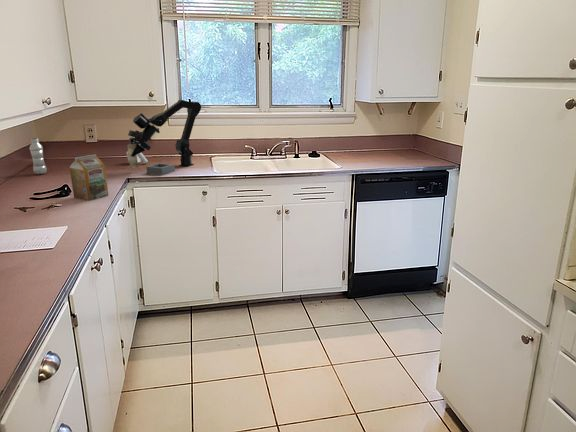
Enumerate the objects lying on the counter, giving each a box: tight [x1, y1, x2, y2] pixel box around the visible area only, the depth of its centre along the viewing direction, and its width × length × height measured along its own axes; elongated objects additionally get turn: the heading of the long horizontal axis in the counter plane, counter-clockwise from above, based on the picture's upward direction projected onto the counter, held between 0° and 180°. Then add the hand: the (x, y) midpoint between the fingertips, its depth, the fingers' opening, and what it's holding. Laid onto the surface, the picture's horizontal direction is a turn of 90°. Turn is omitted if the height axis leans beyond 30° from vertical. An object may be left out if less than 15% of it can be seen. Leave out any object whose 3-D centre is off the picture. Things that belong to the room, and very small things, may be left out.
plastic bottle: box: [29, 137, 48, 175], centre depth 249 cm, size 6×7×20 cm
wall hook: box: [125, 150, 149, 165], centre depth 280 cm, size 8×10×10 cm
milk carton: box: [69, 153, 109, 202], centre depth 204 cm, size 11×11×19 cm
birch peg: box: [127, 143, 139, 169], centre depth 254 cm, size 4×4×12 cm
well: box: [146, 162, 176, 176], centre depth 256 cm, size 11×11×4 cm
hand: (130, 155), depth 253 cm, fingers closed on birch peg, 4 cm apart
